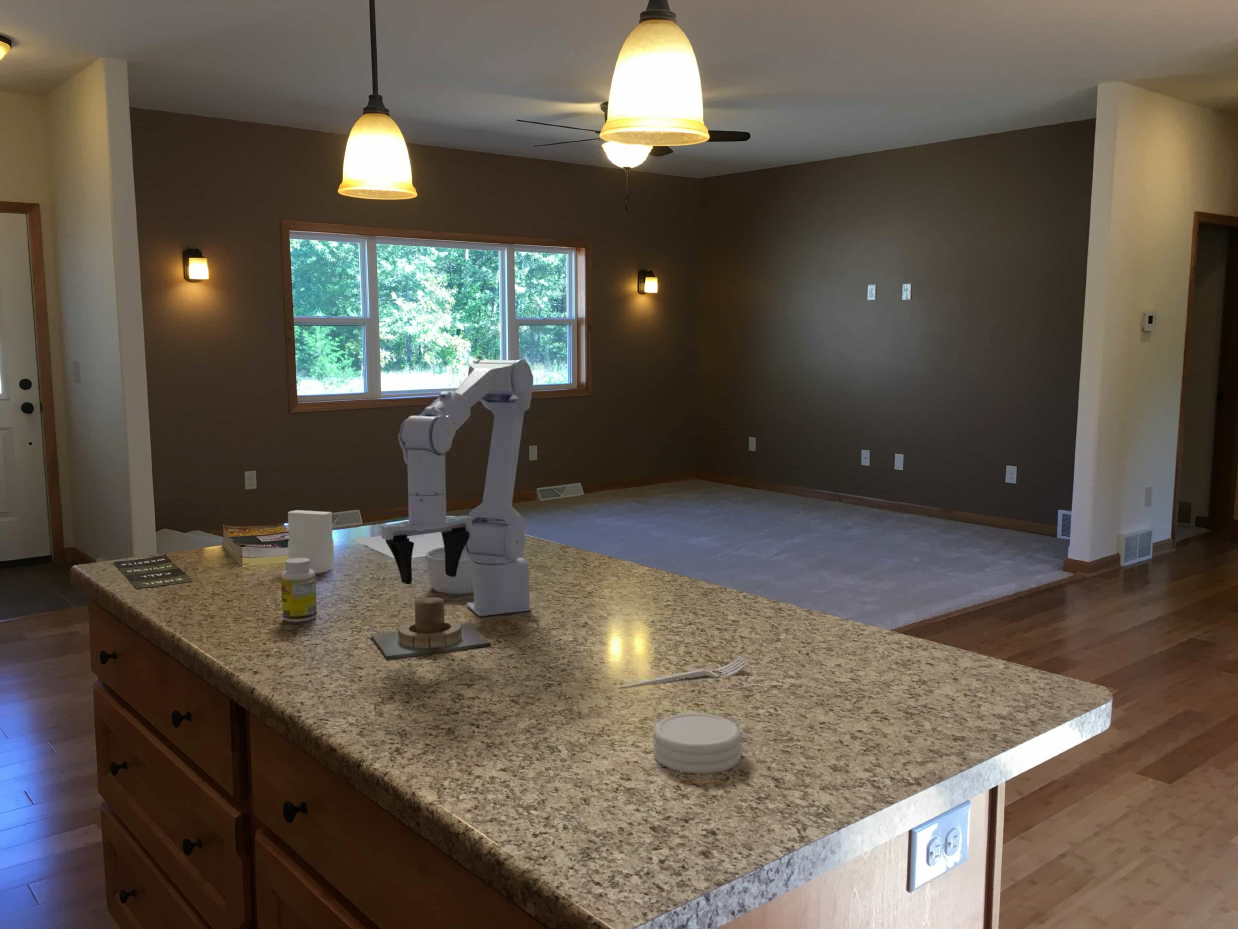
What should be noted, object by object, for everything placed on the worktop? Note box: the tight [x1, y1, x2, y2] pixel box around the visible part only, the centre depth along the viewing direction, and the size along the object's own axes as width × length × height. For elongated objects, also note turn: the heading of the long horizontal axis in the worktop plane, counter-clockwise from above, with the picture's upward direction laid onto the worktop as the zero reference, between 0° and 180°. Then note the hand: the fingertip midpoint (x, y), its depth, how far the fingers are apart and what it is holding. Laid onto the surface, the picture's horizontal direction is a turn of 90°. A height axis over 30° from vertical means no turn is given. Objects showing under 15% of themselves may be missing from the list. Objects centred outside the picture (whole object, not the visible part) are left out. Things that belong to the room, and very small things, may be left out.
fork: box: [621, 656, 750, 688], centre depth 137 cm, size 3×20×2 cm, turn 113°
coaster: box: [652, 712, 743, 775], centre depth 111 cm, size 10×10×4 cm
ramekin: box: [425, 546, 474, 595], centre depth 188 cm, size 13×13×7 cm
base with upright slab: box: [287, 509, 335, 574], centre depth 202 cm, size 9×9×12 cm
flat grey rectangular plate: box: [370, 618, 492, 660], centre depth 153 cm, size 16×12×2 cm
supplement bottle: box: [280, 558, 318, 623], centre depth 165 cm, size 6×6×10 cm
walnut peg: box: [414, 597, 445, 634], centre depth 153 cm, size 4×4×6 cm
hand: (429, 579), depth 152 cm, fingers open, 7 cm apart
